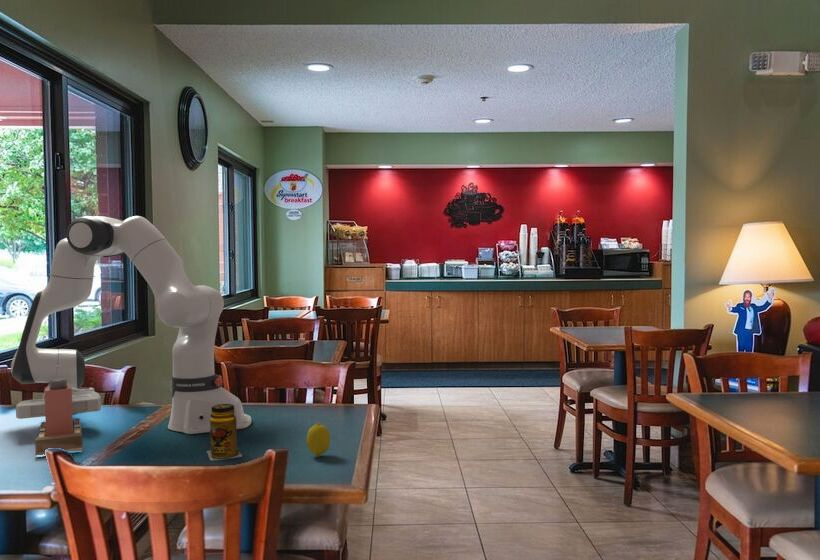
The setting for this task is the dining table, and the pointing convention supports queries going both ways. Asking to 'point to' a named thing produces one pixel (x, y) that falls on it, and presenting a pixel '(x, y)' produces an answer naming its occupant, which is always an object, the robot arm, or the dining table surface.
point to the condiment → (223, 433)
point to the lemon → (318, 439)
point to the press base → (59, 440)
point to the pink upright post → (58, 408)
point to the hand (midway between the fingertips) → (59, 412)
